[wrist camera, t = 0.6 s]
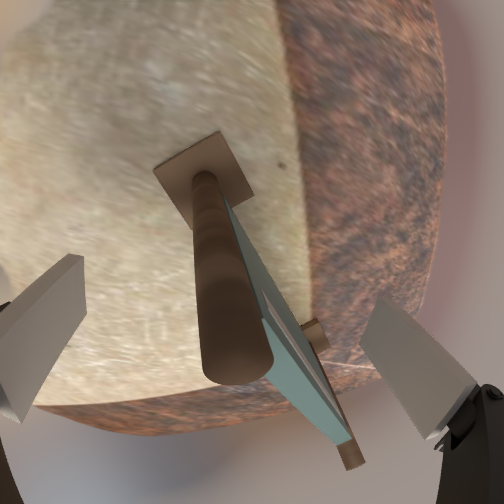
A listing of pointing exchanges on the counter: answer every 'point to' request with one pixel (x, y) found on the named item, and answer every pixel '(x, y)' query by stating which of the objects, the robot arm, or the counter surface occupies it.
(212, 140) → the gate frame
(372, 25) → the counter surface
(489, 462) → the robot arm
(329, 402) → the gate door
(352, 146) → the counter surface
